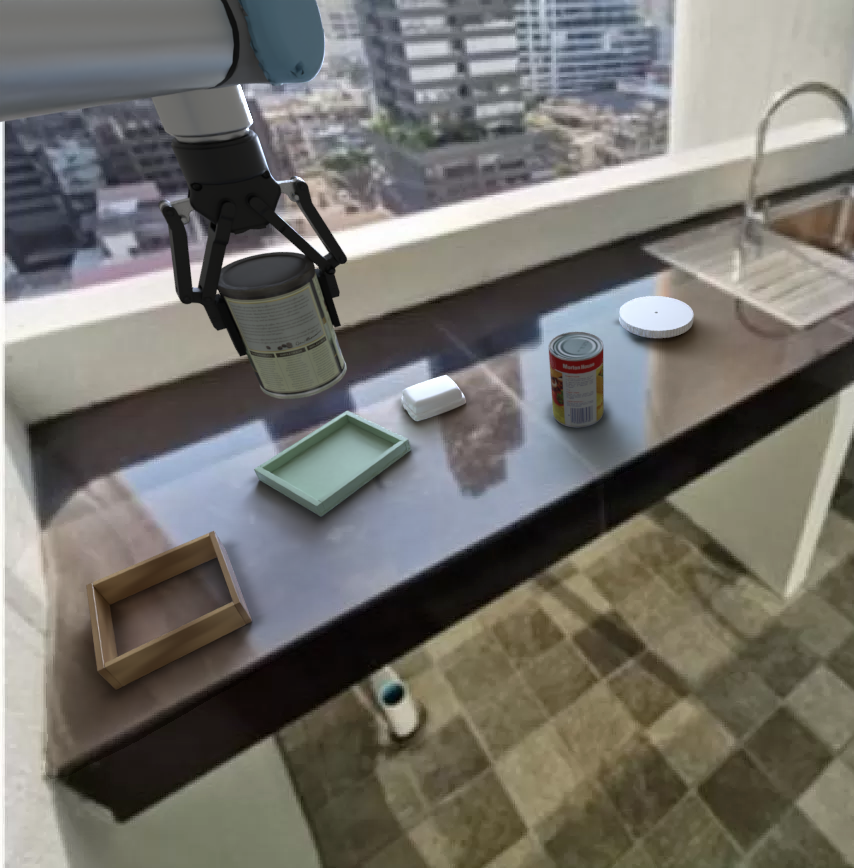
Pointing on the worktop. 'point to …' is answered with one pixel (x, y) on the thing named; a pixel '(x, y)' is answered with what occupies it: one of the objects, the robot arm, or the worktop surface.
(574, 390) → the canned food
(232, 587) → the can stand
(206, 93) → the robot arm
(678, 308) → the plastic lid
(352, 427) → the tray
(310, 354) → the coffee can
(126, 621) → the worktop surface
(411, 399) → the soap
